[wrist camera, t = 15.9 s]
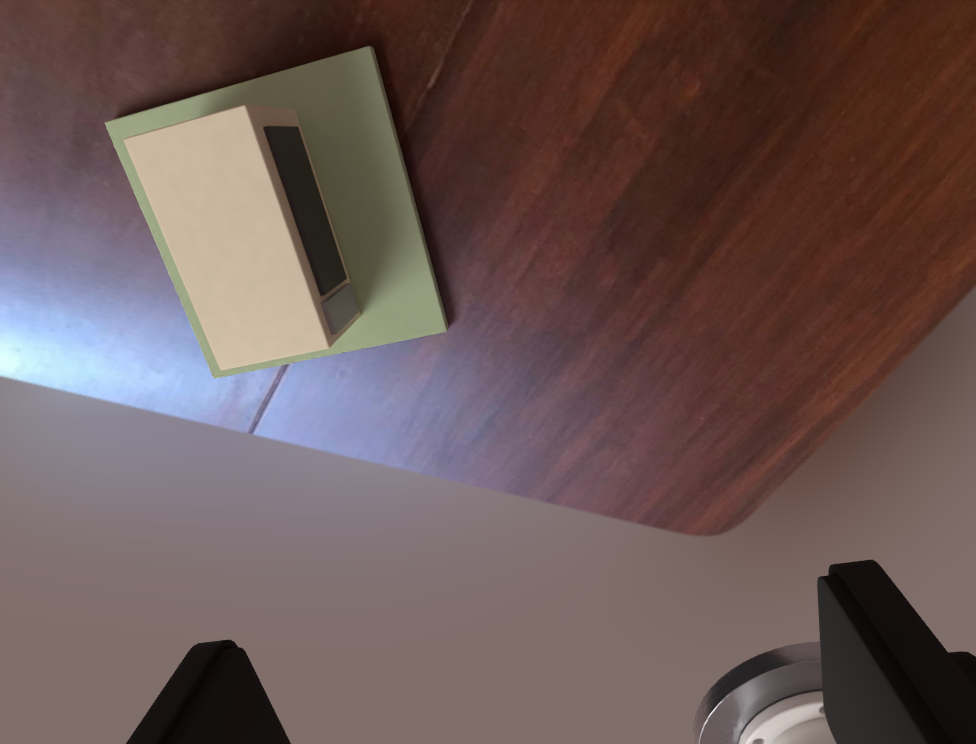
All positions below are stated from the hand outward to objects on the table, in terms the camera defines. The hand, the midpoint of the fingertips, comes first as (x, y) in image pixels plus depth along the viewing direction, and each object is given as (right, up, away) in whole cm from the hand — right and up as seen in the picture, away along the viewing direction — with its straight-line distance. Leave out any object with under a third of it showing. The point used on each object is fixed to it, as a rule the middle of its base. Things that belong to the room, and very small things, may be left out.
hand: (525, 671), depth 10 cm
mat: (-13, +13, +26) cm, 32 cm away
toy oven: (-13, +13, +26) cm, 31 cm away
